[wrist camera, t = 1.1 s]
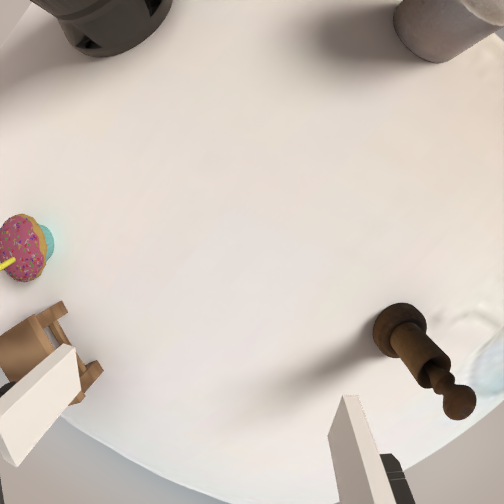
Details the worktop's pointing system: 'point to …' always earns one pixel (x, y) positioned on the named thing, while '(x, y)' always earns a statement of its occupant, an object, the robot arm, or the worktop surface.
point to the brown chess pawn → (422, 357)
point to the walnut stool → (40, 348)
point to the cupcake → (24, 247)
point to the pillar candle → (446, 25)
